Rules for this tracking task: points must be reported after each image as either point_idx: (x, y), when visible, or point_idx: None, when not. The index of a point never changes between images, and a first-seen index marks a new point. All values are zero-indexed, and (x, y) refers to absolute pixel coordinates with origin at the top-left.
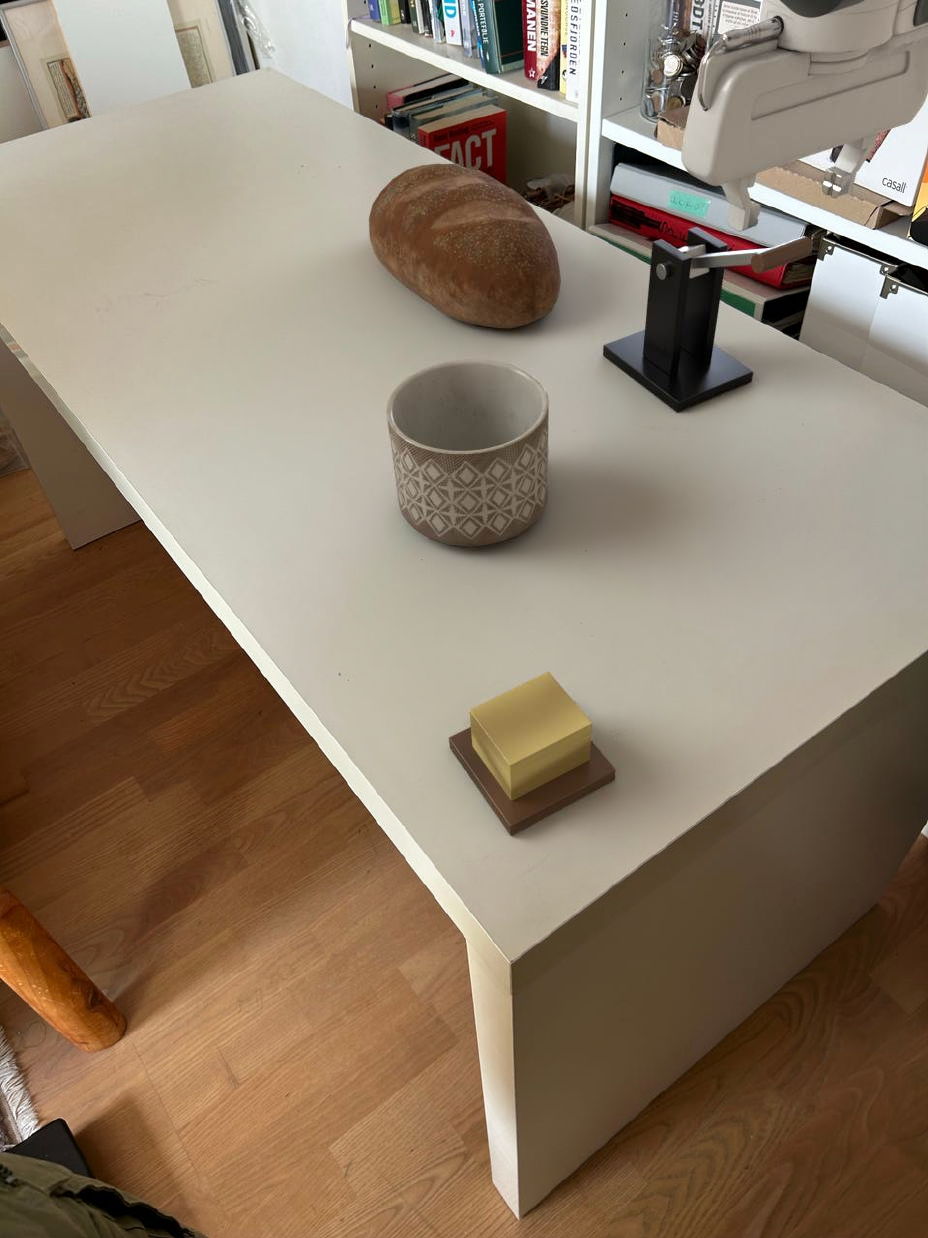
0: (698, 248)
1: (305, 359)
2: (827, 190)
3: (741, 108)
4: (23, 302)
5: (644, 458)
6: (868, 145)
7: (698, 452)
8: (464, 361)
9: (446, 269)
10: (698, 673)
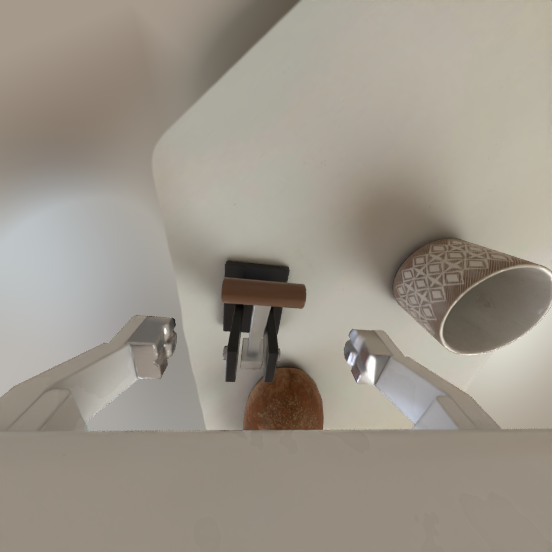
0: (249, 359)
1: (377, 393)
2: (173, 339)
3: None
4: None
5: (337, 247)
6: (36, 394)
7: (310, 229)
8: (450, 348)
9: (322, 415)
10: (503, 57)
